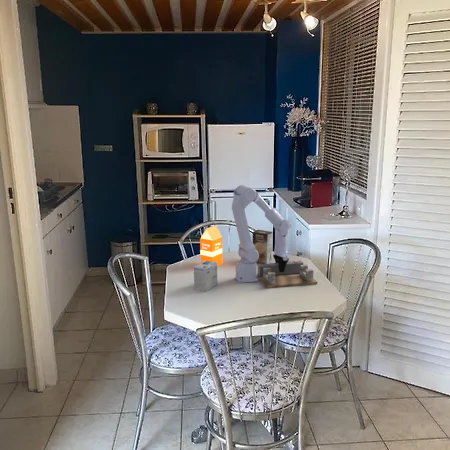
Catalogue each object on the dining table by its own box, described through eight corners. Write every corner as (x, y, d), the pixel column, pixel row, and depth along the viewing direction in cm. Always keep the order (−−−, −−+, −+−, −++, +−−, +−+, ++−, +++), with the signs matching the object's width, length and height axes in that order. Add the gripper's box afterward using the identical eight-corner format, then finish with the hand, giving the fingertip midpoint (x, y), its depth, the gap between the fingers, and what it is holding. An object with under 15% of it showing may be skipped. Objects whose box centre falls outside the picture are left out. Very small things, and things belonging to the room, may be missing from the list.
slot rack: (266, 288, 211) (266, 275, 210) (259, 279, 222) (259, 267, 221) (317, 284, 216) (317, 271, 214) (307, 275, 227) (308, 263, 226)
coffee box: (251, 261, 250) (251, 231, 246) (257, 258, 255) (257, 229, 251) (267, 264, 245) (267, 234, 241) (272, 260, 250) (273, 231, 247)
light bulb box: (205, 282, 220) (204, 259, 217) (218, 284, 217) (217, 261, 214) (193, 289, 210) (193, 266, 208) (207, 291, 208) (206, 268, 205)
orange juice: (200, 265, 243) (199, 227, 239) (210, 261, 251) (210, 224, 246) (212, 268, 239) (212, 229, 235) (222, 263, 246) (222, 226, 242)
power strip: (260, 276, 225) (260, 265, 224) (257, 274, 228) (257, 263, 227) (303, 272, 230) (303, 261, 229) (300, 270, 234) (300, 259, 233)
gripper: (294, 246, 220) (293, 274, 223) (284, 239, 234) (283, 265, 237) (279, 247, 218) (279, 275, 222) (270, 239, 232) (270, 266, 235)
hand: (280, 270), depth 229 cm, fingers closed on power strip, 4 cm apart
